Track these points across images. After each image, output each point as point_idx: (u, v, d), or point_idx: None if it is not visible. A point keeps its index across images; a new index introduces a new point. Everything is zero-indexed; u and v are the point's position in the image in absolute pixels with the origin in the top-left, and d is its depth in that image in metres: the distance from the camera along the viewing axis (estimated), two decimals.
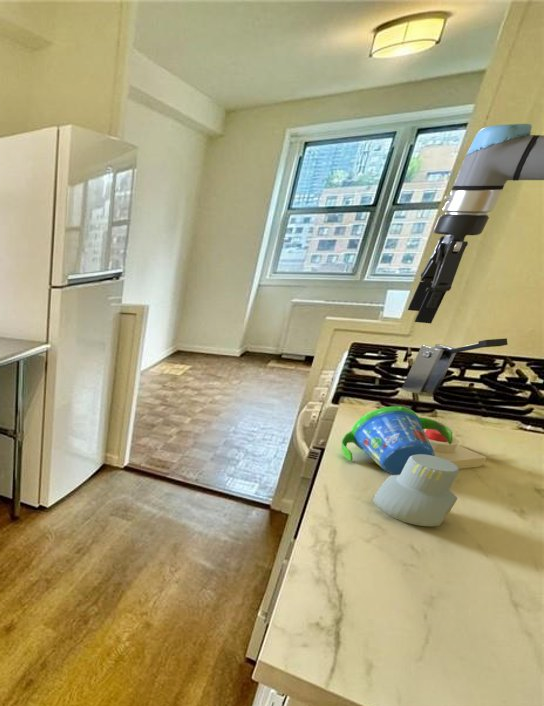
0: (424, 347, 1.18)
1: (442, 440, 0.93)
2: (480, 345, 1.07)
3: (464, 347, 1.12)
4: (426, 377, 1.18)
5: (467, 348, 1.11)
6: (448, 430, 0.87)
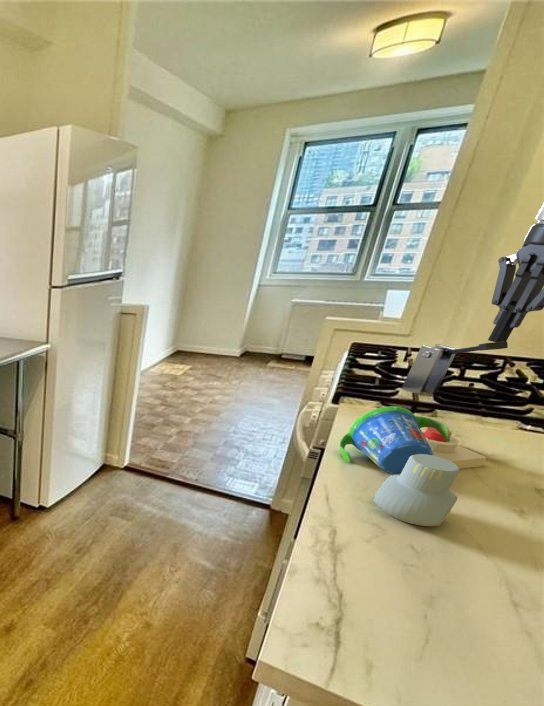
0: (424, 347, 1.18)
1: (442, 440, 0.93)
2: (480, 348, 1.07)
3: (464, 349, 1.11)
4: (426, 377, 1.18)
5: (467, 350, 1.11)
6: (445, 428, 0.87)
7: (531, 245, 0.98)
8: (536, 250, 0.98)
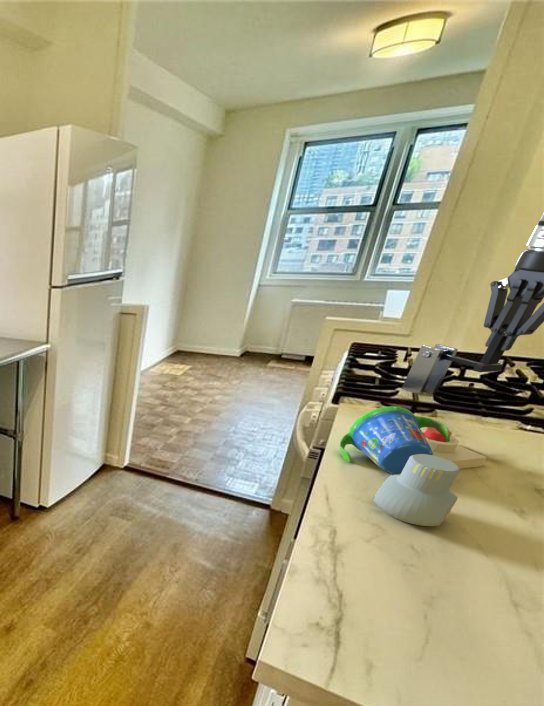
0: (424, 347, 1.18)
1: (442, 440, 0.93)
2: (475, 369, 1.08)
3: (462, 360, 1.12)
4: (426, 377, 1.18)
5: (464, 362, 1.12)
6: (445, 428, 0.87)
7: (522, 270, 1.00)
8: (527, 275, 0.99)
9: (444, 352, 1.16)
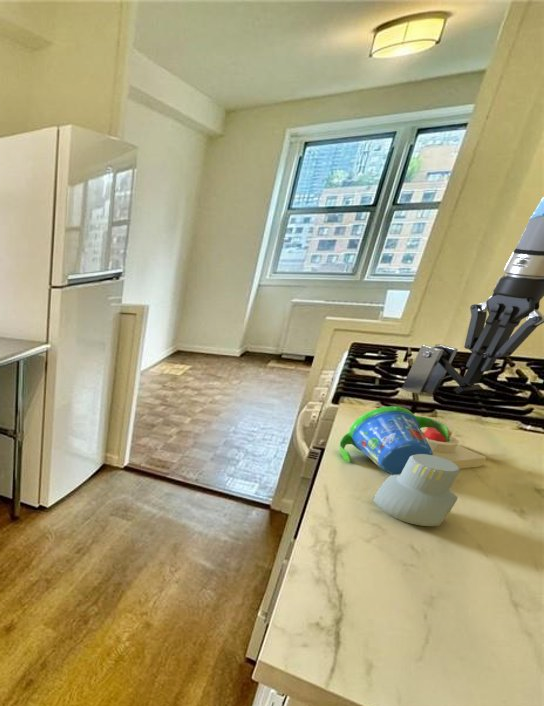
0: (424, 347, 1.18)
1: (442, 440, 0.93)
2: (455, 389, 1.12)
3: (452, 372, 1.14)
4: (426, 377, 1.18)
5: (452, 375, 1.14)
6: (445, 428, 0.87)
7: (500, 295, 1.04)
8: (504, 300, 1.03)
9: (443, 356, 1.16)
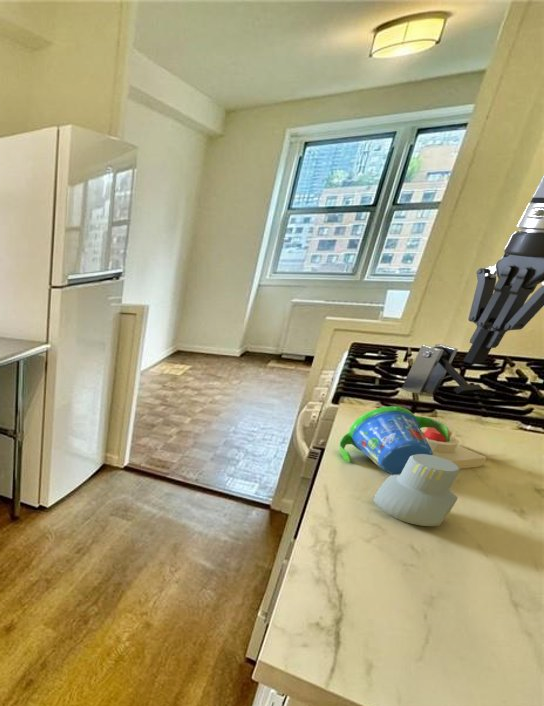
0: (424, 347, 1.18)
1: (442, 440, 0.93)
2: (455, 389, 1.12)
3: (452, 372, 1.14)
4: (426, 377, 1.18)
5: (452, 375, 1.14)
6: (445, 428, 0.87)
7: (512, 256, 0.87)
8: (517, 261, 0.87)
9: (443, 356, 1.16)
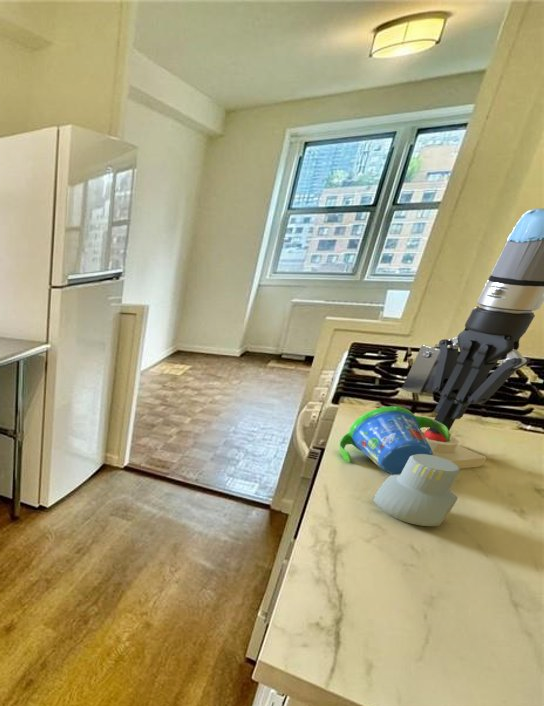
0: (424, 347, 1.18)
1: None
2: None
3: None
4: (426, 377, 1.18)
5: None
6: (445, 428, 0.87)
7: (473, 330, 0.87)
8: (478, 336, 0.86)
9: None
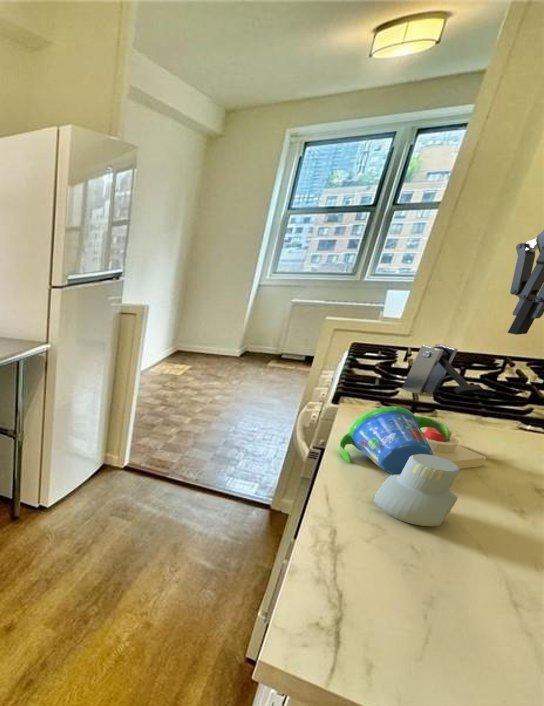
0: (424, 347, 1.18)
1: (442, 440, 0.93)
2: (455, 389, 1.12)
3: (452, 372, 1.14)
4: (426, 377, 1.18)
5: (452, 375, 1.14)
6: (445, 428, 0.87)
7: None
8: None
9: (443, 356, 1.16)
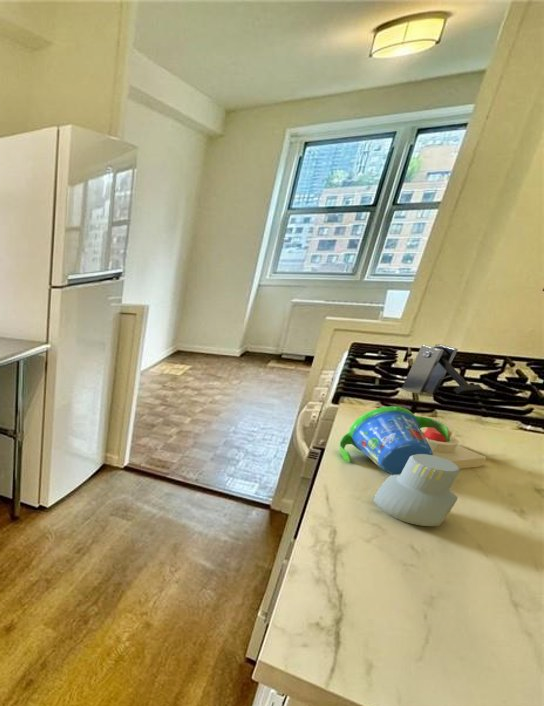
0: (424, 347, 1.18)
1: (442, 440, 0.93)
2: (455, 389, 1.12)
3: (452, 372, 1.14)
4: (426, 377, 1.18)
5: (452, 375, 1.14)
6: (445, 428, 0.87)
7: None
8: None
9: (443, 356, 1.16)
